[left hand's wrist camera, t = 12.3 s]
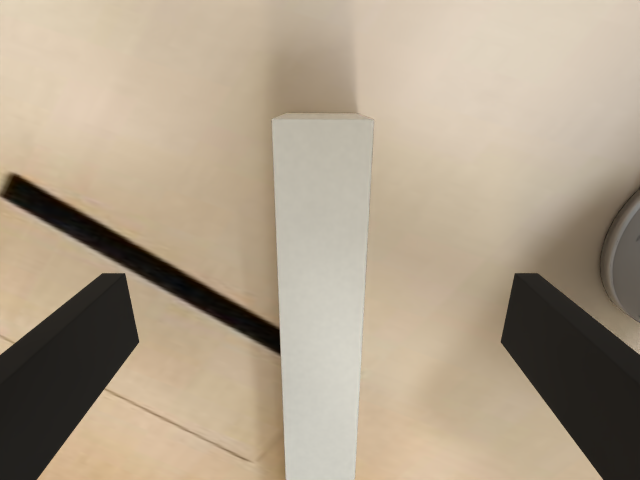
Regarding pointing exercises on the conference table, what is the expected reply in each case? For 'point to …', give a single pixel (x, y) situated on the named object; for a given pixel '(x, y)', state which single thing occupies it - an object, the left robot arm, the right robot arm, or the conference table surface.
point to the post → (321, 284)
